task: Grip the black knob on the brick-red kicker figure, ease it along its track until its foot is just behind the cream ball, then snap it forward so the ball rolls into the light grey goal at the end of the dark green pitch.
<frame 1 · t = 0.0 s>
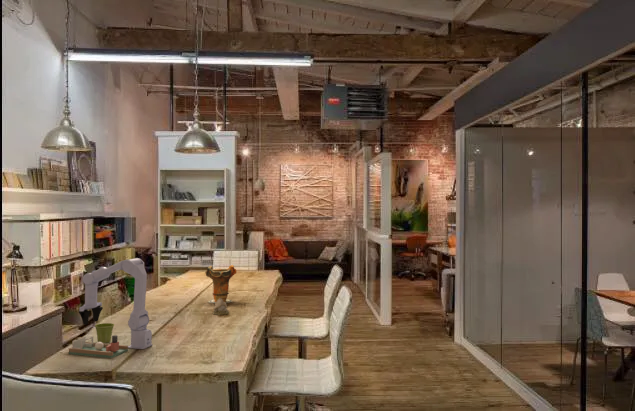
hand: (90, 322, 253), 10 cm above the table, tool pointing down, fingers open, 7 cm apart
goal: (83, 350, 238), resting on pitch
ceramic model: (220, 313, 330), on the table
ball: (99, 346, 236), point 3 cm above the table, touching pitch
pitch: (98, 352, 236), on the table
kicker: (113, 343, 234), point 5 cm above the table, slide at 0.0 cm
plant pot: (104, 342, 254), on the table
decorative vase: (220, 301, 370), on the table
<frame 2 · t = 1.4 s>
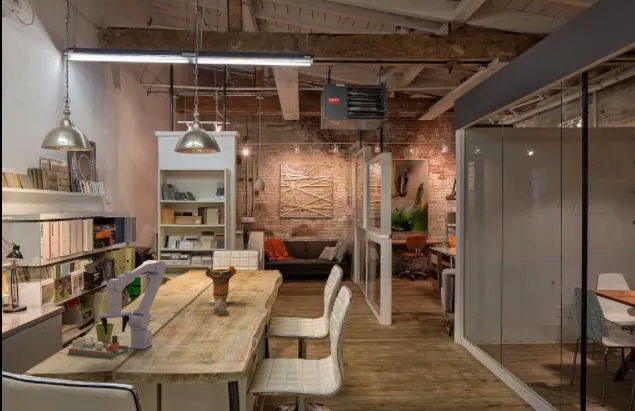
hand: (114, 332, 234), 10 cm above the table, tool pointing down, fingers open, 7 cm apart
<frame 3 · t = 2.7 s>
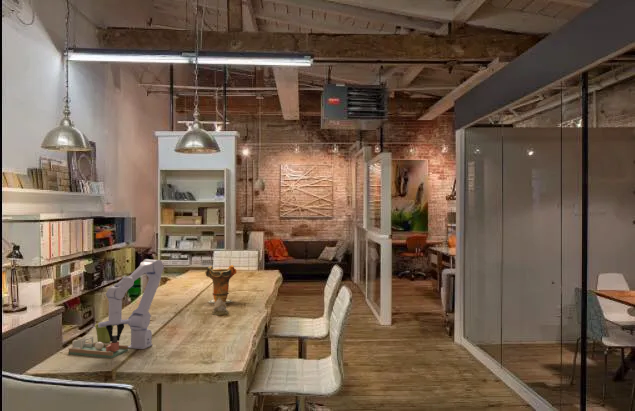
hand: (114, 340, 234), 6 cm above the table, tool pointing down, fingers closed on kicker, 2 cm apart
kicker: (113, 343, 234), point 5 cm above the table, slide at 0.0 cm, touching gripper
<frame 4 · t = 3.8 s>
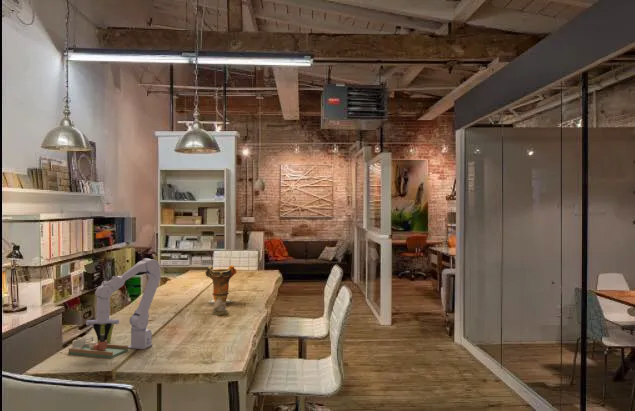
hand: (102, 339, 235), 6 cm above the table, tool pointing down, fingers closed on kicker, 2 cm apart
ball: (93, 345, 236), point 3 cm above the table, tilted 81°, touching pitch
kicker: (101, 342, 235), point 5 cm above the table, slide at 6.7 cm, touching gripper
everything else where it was.
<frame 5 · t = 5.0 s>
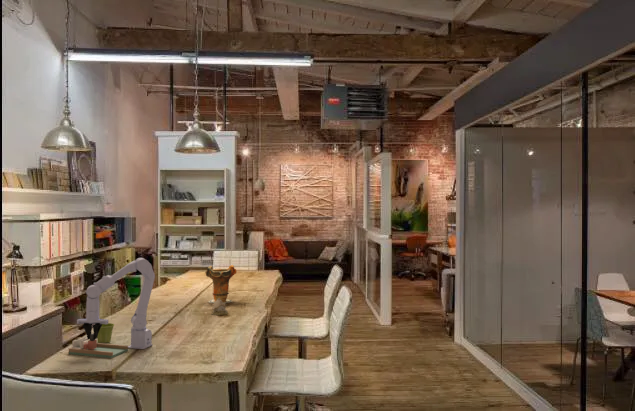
hand: (92, 338, 236), 6 cm above the table, tool pointing down, fingers closed on kicker, 2 cm apart
ball: (83, 344, 238), point 3 cm above the table, tilted 122°, touching pitch
kicker: (91, 341, 237), point 5 cm above the table, slide at 12.3 cm, touching gripper
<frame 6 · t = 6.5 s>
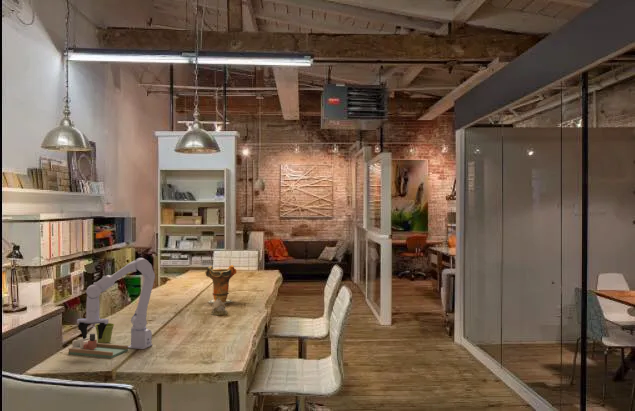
hand: (92, 338, 237), 6 cm above the table, tool pointing down, fingers open, 7 cm apart
ball: (84, 344, 238), point 3 cm above the table, tilted 130°, touching pitch
kicker: (91, 341, 237), point 5 cm above the table, slide at 12.3 cm
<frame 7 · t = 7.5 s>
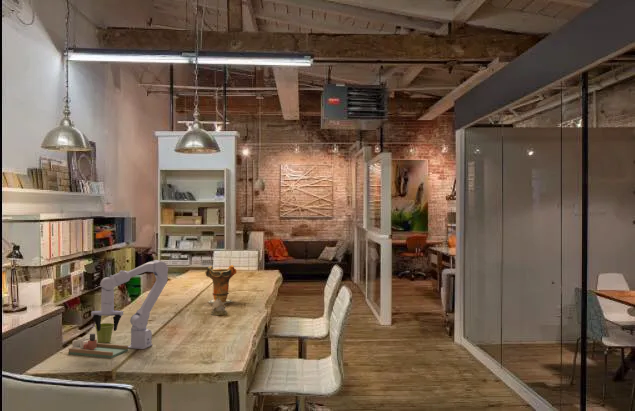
hand: (107, 330, 238), 10 cm above the table, tool pointing down, fingers open, 7 cm apart
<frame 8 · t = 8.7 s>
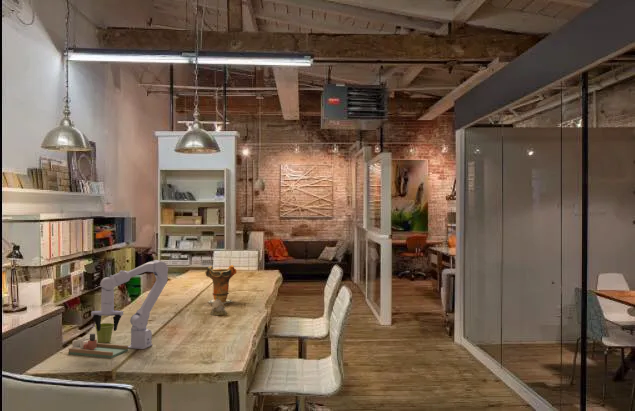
hand: (107, 330, 238), 10 cm above the table, tool pointing down, fingers open, 7 cm apart
at the end: ball 0.7 cm from the target spot, point 3.0 cm above the table; kicker slide at 12.3 cm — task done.
